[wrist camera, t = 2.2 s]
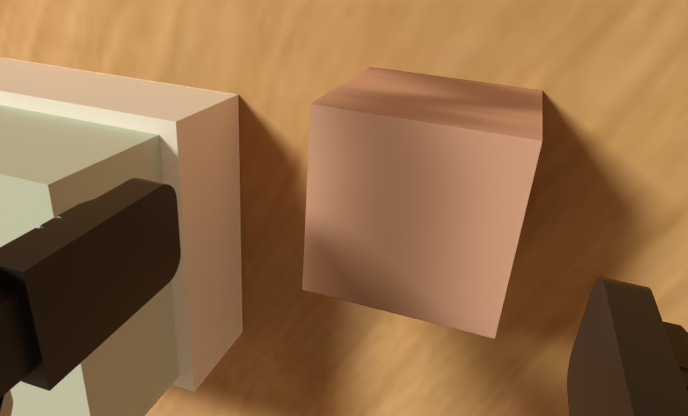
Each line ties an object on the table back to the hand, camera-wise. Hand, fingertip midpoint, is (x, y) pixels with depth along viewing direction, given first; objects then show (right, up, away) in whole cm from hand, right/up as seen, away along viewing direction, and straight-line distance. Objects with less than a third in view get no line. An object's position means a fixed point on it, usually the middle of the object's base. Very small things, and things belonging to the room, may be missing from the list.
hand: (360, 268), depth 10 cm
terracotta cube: (+3, +3, +7) cm, 8 cm away
